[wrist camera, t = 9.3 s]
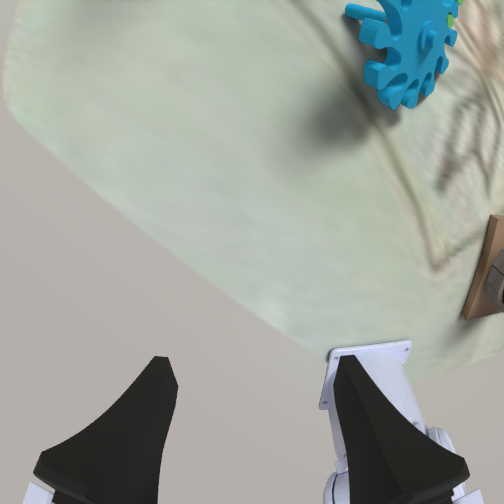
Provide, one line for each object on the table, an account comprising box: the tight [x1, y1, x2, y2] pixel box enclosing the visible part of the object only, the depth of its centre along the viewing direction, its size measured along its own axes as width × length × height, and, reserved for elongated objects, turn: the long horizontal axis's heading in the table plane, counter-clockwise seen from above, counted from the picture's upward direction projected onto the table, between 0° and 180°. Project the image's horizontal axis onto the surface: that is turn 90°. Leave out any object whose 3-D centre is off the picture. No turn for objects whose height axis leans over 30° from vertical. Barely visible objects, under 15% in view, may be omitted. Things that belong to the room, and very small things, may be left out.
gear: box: [345, 0, 463, 110], centre depth 10 cm, size 11×6×10 cm
